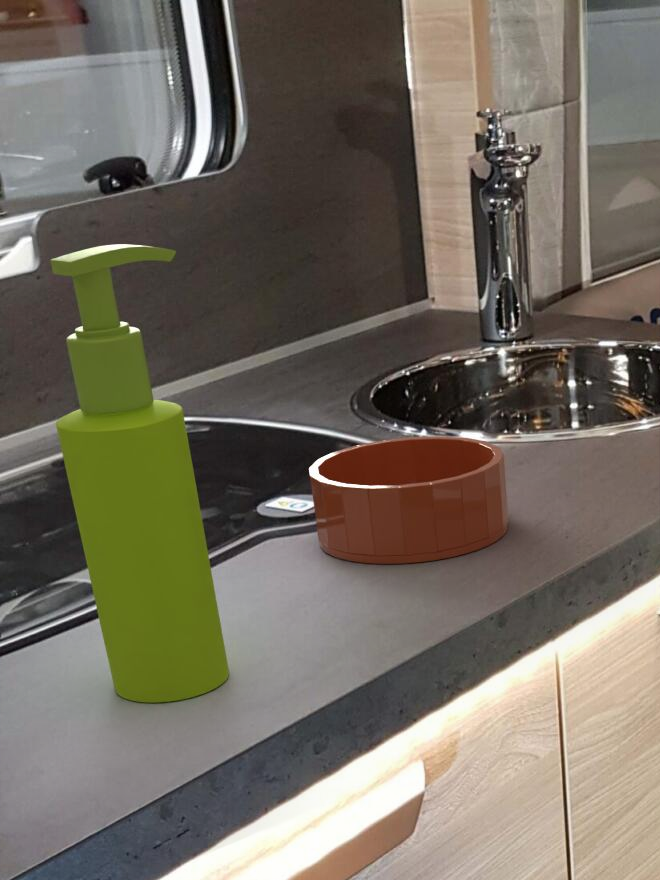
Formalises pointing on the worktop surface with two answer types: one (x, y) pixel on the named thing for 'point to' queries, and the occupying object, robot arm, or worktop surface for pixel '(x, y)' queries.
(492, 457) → the bowl
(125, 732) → the worktop surface
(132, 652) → the soap dispenser
